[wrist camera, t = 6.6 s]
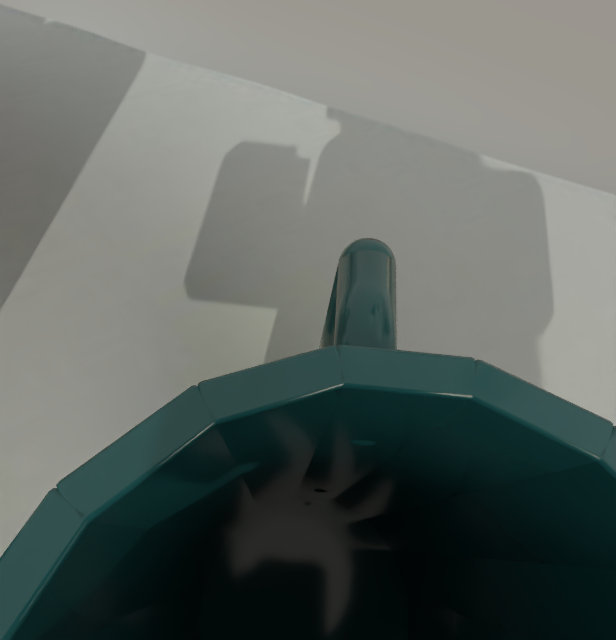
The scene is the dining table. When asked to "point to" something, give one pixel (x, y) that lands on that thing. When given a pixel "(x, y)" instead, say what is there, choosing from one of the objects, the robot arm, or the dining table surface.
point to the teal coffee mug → (333, 503)
